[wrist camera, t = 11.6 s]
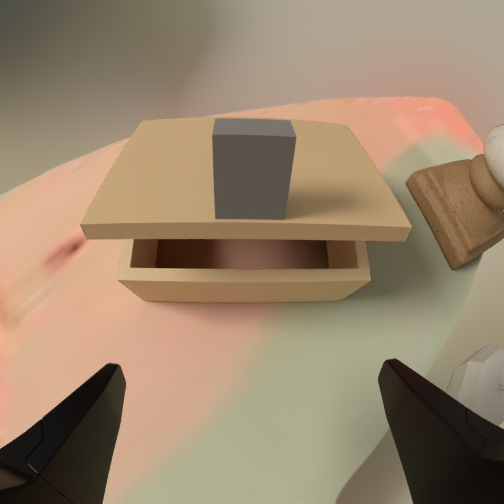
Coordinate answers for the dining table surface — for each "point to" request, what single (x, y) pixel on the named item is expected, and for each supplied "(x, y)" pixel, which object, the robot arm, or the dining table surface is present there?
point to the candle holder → (464, 201)
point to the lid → (244, 184)
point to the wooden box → (243, 277)
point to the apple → (481, 383)
